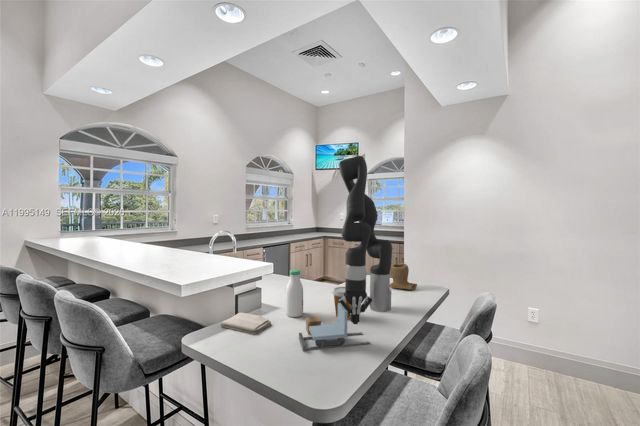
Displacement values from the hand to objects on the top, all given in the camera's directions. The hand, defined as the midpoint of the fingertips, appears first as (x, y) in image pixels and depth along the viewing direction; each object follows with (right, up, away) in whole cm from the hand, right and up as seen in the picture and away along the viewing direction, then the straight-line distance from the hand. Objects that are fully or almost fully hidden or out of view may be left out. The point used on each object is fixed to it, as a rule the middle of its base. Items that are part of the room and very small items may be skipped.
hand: (355, 323), depth 110 cm
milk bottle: (-24, -5, +25) cm, 35 cm away
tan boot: (+36, -5, +67) cm, 76 cm away
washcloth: (-43, -6, +12) cm, 45 cm away
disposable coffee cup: (-3, -6, +23) cm, 24 cm away
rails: (-8, -6, -1) cm, 10 cm away
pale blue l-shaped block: (-10, -6, -2) cm, 12 cm away
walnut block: (-16, -6, +7) cm, 18 cm away
